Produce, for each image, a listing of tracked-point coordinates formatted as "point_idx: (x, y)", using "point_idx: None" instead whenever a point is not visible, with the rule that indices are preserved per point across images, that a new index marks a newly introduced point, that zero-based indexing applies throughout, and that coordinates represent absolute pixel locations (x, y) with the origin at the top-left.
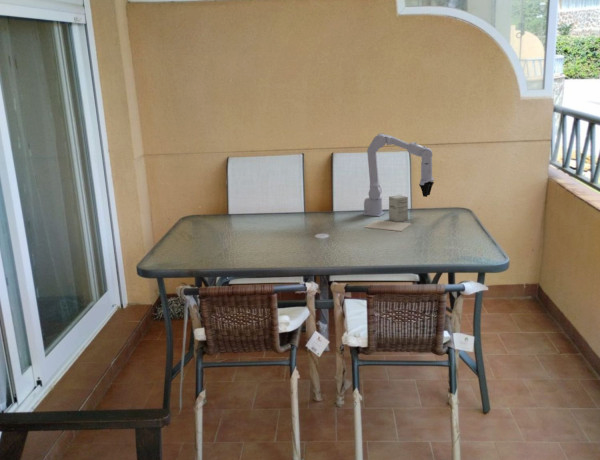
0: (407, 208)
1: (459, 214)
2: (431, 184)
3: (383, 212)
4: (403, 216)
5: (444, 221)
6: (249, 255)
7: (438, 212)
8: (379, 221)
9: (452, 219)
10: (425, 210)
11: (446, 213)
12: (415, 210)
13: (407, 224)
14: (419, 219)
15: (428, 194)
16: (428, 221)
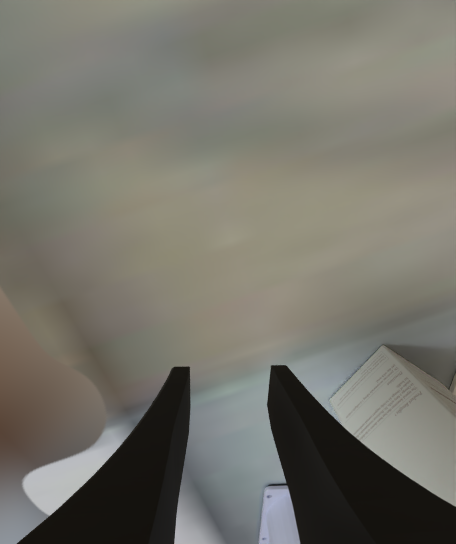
0: (442, 400)
1: (112, 11)
2: (153, 538)
3: (271, 494)
4: (424, 375)
5: (390, 86)
6: None
7: (124, 225)
8: None
9: (313, 30)
10: (109, 329)
11: (128, 152)
12: (138, 382)
13: None
14: (358, 285)
15: (189, 383)
16: (403, 211)
